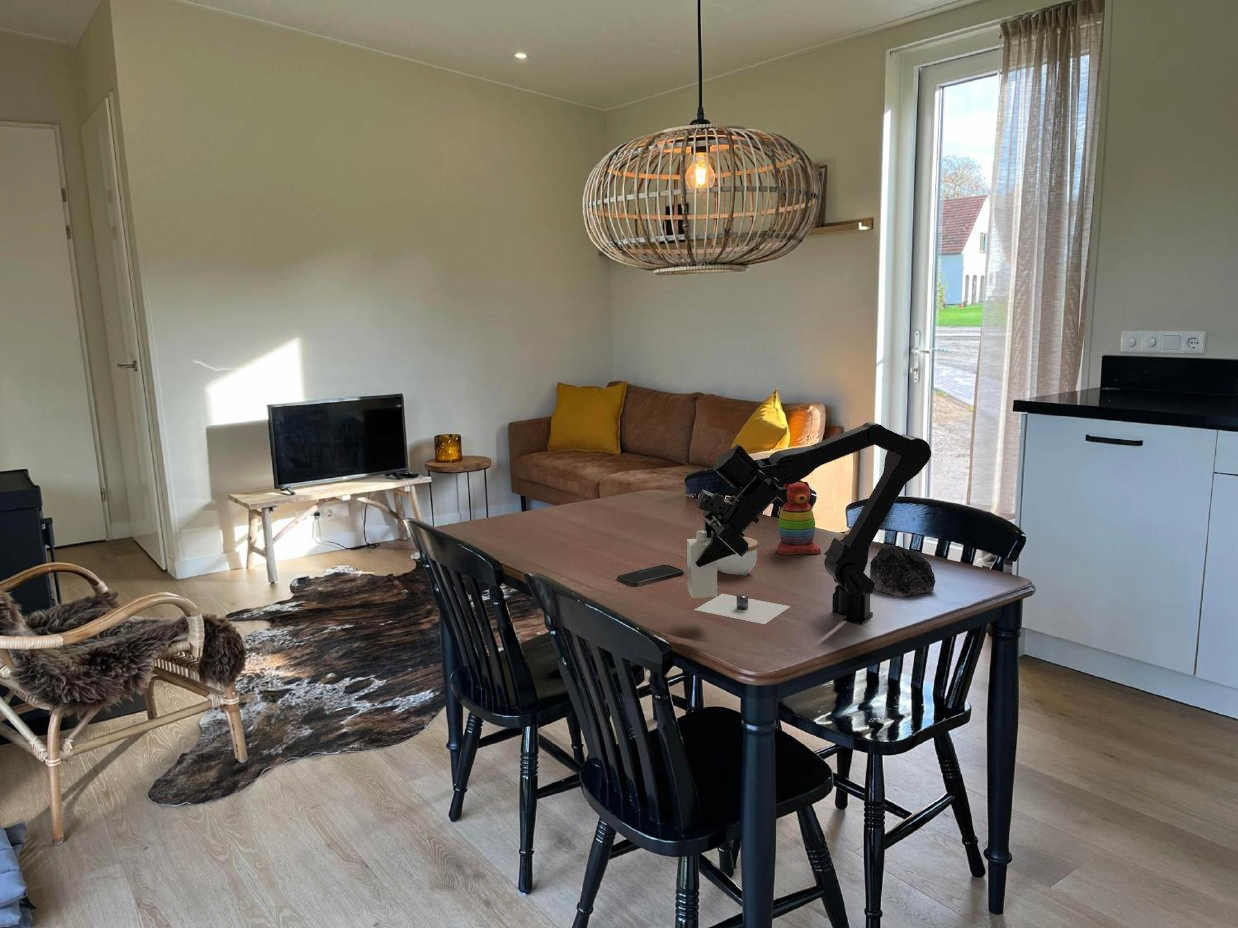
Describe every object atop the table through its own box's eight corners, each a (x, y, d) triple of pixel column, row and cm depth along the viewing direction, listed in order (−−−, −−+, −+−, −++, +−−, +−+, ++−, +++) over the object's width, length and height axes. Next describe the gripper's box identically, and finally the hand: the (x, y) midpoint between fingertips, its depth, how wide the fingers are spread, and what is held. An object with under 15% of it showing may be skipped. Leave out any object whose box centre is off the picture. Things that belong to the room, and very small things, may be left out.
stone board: (790, 610, 178) (790, 606, 178) (764, 628, 169) (764, 624, 168) (722, 597, 187) (722, 593, 187) (694, 614, 178) (694, 609, 178)
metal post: (750, 607, 178) (750, 595, 178) (744, 610, 176) (744, 599, 176) (739, 605, 179) (739, 593, 179) (734, 608, 178) (734, 597, 177)
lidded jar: (703, 575, 204) (702, 536, 202) (728, 564, 212) (728, 527, 210) (741, 583, 197) (741, 543, 195) (766, 571, 205) (766, 533, 203)
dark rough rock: (943, 600, 184) (947, 555, 183) (880, 597, 184) (884, 551, 183) (921, 585, 197) (925, 543, 196) (862, 582, 197) (866, 539, 196)
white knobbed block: (712, 588, 172) (711, 527, 170) (717, 596, 167) (716, 534, 165) (687, 589, 172) (686, 529, 170) (691, 598, 167) (690, 535, 165)
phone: (686, 571, 205) (634, 583, 197) (686, 575, 205) (634, 588, 197) (665, 563, 211) (615, 575, 203) (666, 568, 212) (615, 580, 203)
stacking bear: (780, 555, 218) (780, 486, 215) (772, 545, 228) (772, 479, 225) (822, 554, 218) (823, 485, 215) (812, 543, 228) (813, 477, 225)
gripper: (712, 467, 175) (659, 523, 176) (730, 485, 157) (671, 547, 158) (750, 503, 177) (698, 558, 178) (773, 525, 159) (714, 586, 160)
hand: (694, 561), depth 169 cm, fingers closed on white knobbed block, 5 cm apart
